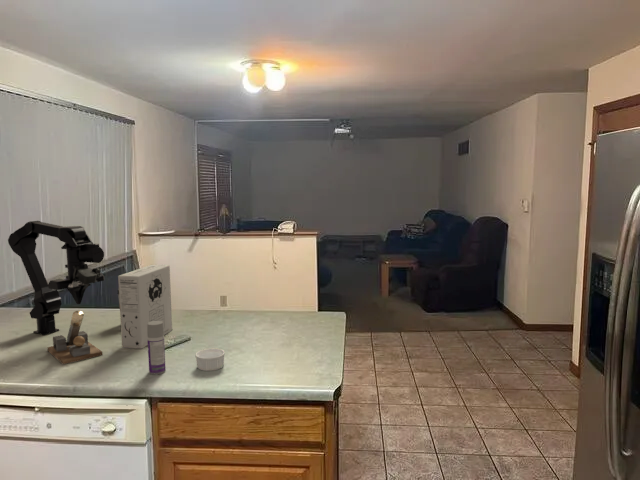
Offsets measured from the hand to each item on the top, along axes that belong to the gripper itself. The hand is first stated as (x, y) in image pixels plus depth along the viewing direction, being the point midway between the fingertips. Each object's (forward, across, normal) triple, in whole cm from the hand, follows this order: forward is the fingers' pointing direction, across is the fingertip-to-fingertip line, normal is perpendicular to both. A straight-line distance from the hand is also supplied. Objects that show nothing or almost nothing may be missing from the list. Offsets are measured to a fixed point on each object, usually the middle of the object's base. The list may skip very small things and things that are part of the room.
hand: (78, 304), depth 187 cm
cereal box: (+12, +10, -24) cm, 29 cm away
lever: (+10, -12, -11) cm, 19 cm away
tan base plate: (+12, -13, -14) cm, 23 cm away
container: (+12, -11, -51) cm, 54 cm away
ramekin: (+12, 0, -62) cm, 63 cm away
